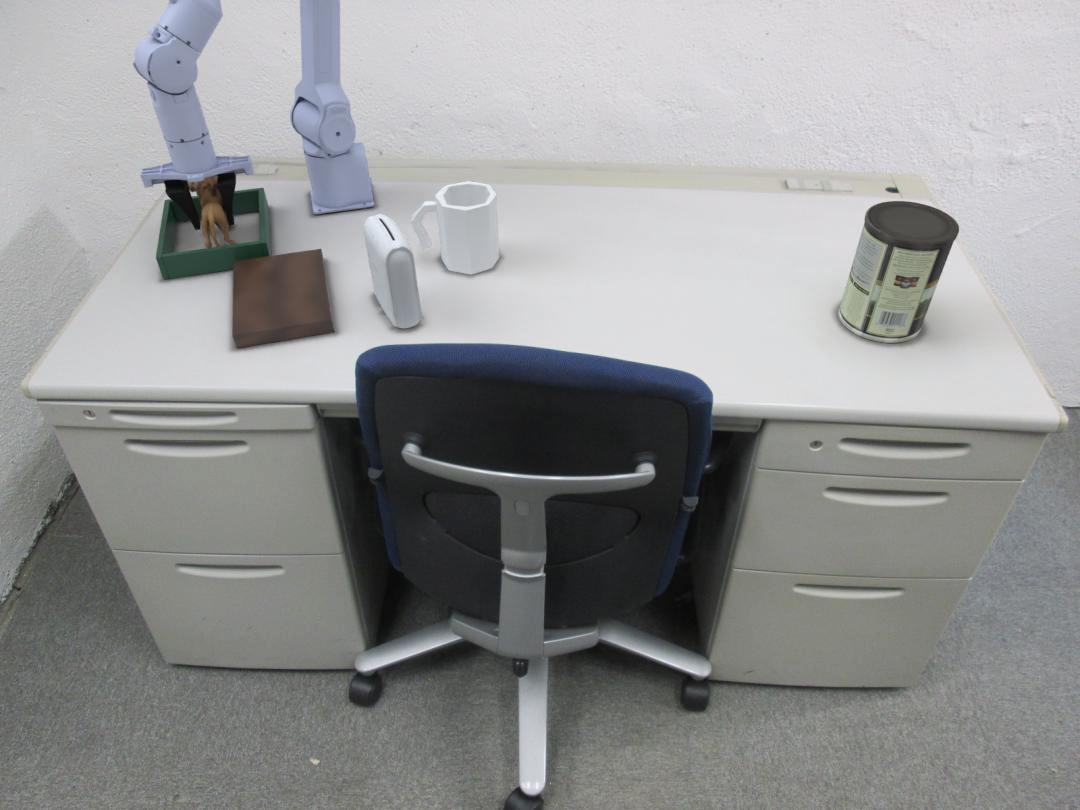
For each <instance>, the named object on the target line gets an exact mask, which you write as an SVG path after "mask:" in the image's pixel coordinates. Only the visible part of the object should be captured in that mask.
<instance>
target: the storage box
mask: <svg viewBox="0 0 1080 810" xmlns="http://www.w3.org/2000/svg"><path fill="white" fill-rule="evenodd" d="M266 195H267V194H266V191H265V188H264V187H256V188H247V189H240V190H235V191H234V197H233V214H234V215H240V214H247V213H255V212H258V214H259V215H258V216H259V239H260V240H254V241H247V242H240V243H235V244H232V245H227V244H225V245H220V246H218V247H217V246H212V247H211V248H207V247H204V248H197V249H196V248H195V249H190V250H182V251H175V252H174V248H175V247H174V246H175V238H176V232H177V231H176V230H177V223H180V222H186V221H187V222H189V221H190V220H189V218H188V217H187V216H186V214H185V213H184V212H183V211H182V209H181V208H180V207H179V206H178V205H177V204H176V203H175V202H174V201H173V200H171V199H170V198H168V199H164V202H163V209H162V216H161V220H160V227H159V234H158V239H157V240H158V241H157V248H156V253H155V260H156V262H157V266H158V268H159V270H160V273H161V276H162V279H163V280H170V279H177V278H184V277H191V276H197V275H204V274H212V273H219V272H224V271H231V270H232V271H233V261H239V260H246V259H253V258H260V257H267V256H272V239H271V224H270V206H269V204H268V199H267V196H266ZM191 196H192V200H193V203H194V205H195V208H196V210H197V213H198V215H199V219H200V220H202V215H201V211H202V206H201V203H200V200H199V198H198V195H191Z"/></svg>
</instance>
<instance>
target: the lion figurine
mask: <svg viewBox="0 0 1080 810" xmlns="http://www.w3.org/2000/svg"><path fill="white" fill-rule="evenodd" d="M217 178H218V177H210V178H204V180H203V181H198V182H189V181H188V180H187V182H188V185H189V189H190V193H195V192H196V196H198V198H199V200H200V203H201V206H202V211H201V215H202V219H201V220H200V222H201V229H202V233H203V238H204V243H205V248H211V247H213V242H214V245H215V247H218V246H221V245H220V242H219V240H218V237H217V233H216V227H217V228H218V229H219V231H220V232H221V233H222V236H223V241H224V242H225V245H232V244H236V241H234V240H233V239H231V238H230V235H229V228H231V227H232V225H231V226H229V223H228V220H227V216H226V211H225V207H224V204H223V201H222V198H221V195H220V193H219V190H218V188H217ZM215 226H216V227H215ZM211 237H212V240H211ZM212 241H213V242H212Z"/></svg>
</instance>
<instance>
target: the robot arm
mask: <svg viewBox="0 0 1080 810" xmlns="http://www.w3.org/2000/svg"><path fill="white" fill-rule="evenodd" d="M168 1H169V2H168V3H167V5H166V7H165V9H164V10H163V12H162V14H161V16H160V17H159V19H158V20H157V23H156V24H155V26H153V25H151V26H150V27H149V29H148V31H147V34H148V35H150V36H147V37H146V38H143V39H141V41H139V43H138V44H137V45H136V47H135V50H134V53H133V56H134V61H133V62H132V65H133V68H134V70H135V71H136V72H137V74H138V75H139V76H140V77H141V78H143V79H144V80H146V81H147V82H146V85H147V88H148V91H149V95H150V97H151V100H152V106H153V109H154V112H155V115H156V119H157V121H158V124H159V127H160V130H161V133H162V136H163V139H164V141H165V145H166V147H167V151H168V154H169V156H170V159H171V162H167V163H166V162H165V163H163V164H159V165H155V166H150V167H143V168H141V170H140V173H139V176H140V180H141V181H142V184H143V186H144V188H153V187H154V185H161V184H163V185H164V188H165V190H164V191H165V194H166V195H167V197H168V199H171V200H173V201H174V202H175V203H176V204H177V205H178V206H179V207H180V208H181V209H182V211H183V212H184V213H185V214H186V216H187V217H188V218H189V221H190V223H191V225H192V227H193V228H194V230H195V231H200V230H201V228H202V224H201V219H199V215H198V213H197V210H196V208H195V205H194V203H193V200H192V196H193V195H192V192H191V191H190V189H189V185H188V182H187V180H188V181H189V182H198V181H203V180H204V178H210V177H218V178H217V188H218V190H219V193H220V195H221V198H222V201H223V204H224V207H225V211H226V216H227V220H228V223H229V226H231V227H232V226H234V225H235V214H233V197H234V191H236V186H237V175H241V174H245V175H246V176H250V175H254V165H253V161H252V157H251V156H250V155H242V156H233V155H231V156H230V155H228V156H227V155H216V152H215V148H214V145H213V142H212V138H211V134H210V131H209V129H208V124H207V122H206V117H205V115H204V111H203V108H202V105H201V101H200V98H199V96H198V94H197V90H196V87H195V82H196V81H198V75H199V74H198V73H199V70H198V65H197V63H198V62H197V61H198V59H199V57H200V56H201V54H202V53H203V51H204V49H205V47H206V45H207V44H208V42H209V40H210V39H211V37H212V35H213V34H214V32H215V30H216V28H217V27H218V25H219V24H220V22H221V20H222V18H223V16H224V15H223V8H222V4H221V0H168ZM299 18H300V19H299V20H300V22H299V23H300V53H301V55H300V56H301V80H300V81H299V82H298V84H297V85H296V86H295V88H294V101H293V103H292V105H291V108H290V111H289V120H290V125H291V127H292V129H293V130H294V131H295V133H297V134H298V135H300V136H301V140H302V151H303V156H304V160H305V165H306V169H307V174H308V179H309V185H310V188H311V189H310V190H309V194H310V200H311V208H312V213H313V214H314V215H321V214H322V215H323V214H327V213H329V214H330V213H336V212H343V211H350V210H351V211H352V210H358V209H364V208H365V209H367V208H373V207H374V206H375V201H374V195H373V189H374V186H373V180H372V177H371V176H370V171H369V163H368V159H367V153H366V149H365V144H364V143H363V142H355V139H356V136H357V127H356V124H355V121H354V118H353V117H352V114H351V103H350V102H351V101H350V100H349V98H348V96H347V94H346V92H345V90H344V89H343V86H342V84H341V0H299Z"/></svg>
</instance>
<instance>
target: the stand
mask: <svg viewBox="0 0 1080 810" xmlns="http://www.w3.org/2000/svg"><path fill="white" fill-rule="evenodd" d="M325 266H326V265H325V259H324V255H323V251H322V248H316V249H315V248H314V249H310V250H309V249H308V250H303V251H295V252H289V253H288V252H287V253H281V254H275V255H271V256H267V257H260V258H253V259H246V260H239V261H233V269H232V330H231V331H232V333H231V335H232V339H233V342H234V345H235V348H236V349H241V348H246V347H252V346H258V345H265V344H271V343H277V342H282V341H283V342H284V341H289V340H294V339H300V338H301V339H302V338H306V337H313V336H318V335H325V334H330V333H335V326H334V319H333V311H332V306H331V299H330V293H329V285H328V279H327V272H326V267H325Z"/></svg>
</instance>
